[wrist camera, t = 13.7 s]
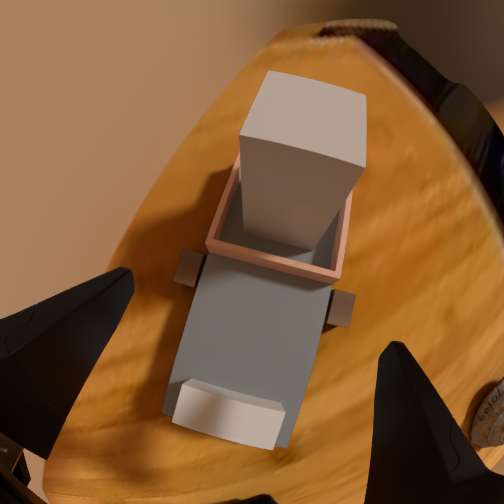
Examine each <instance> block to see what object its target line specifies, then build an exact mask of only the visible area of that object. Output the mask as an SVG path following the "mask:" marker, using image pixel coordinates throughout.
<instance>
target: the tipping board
mask: <svg viewBox="0 0 504 504" xmlns="http://www.w3.org/2000/svg"><path fill="white" fill-rule="evenodd" d="M352 192H353V189H352V191H351V192H350V194H349V195H348V197H347V199H346V200H345V202H344V203H343V205H342V206H341V208H340V210H339V211H338V213H337V214H336V216H335V217H334V219H333V221H332V222H331V224H330V225H329V227H328V228H327V230H326V231H325V233H324V234H323V236H322V237H321V239H320V240H319V242H318V243H317V245H316V246H315V248H314V249H313V251H310V250H307V249H303V248H299V247H296V246H292V245H288V244H284V243H280V242H277V241H273V240H269V239H265V238H261V237H258V236H254V235H250V234H246V233H244V228H243V207H242V186H241V164H240V151H239V154H238V156H237V159H236V161H235V164H234V166H233V169H232V171H231V174H230V177H229V179H228V182H227V184H226V187H225V190H224V192H223V195H222V197H221V200H220V203H219V205H218V208H217V211H216V214H215V216H214V219H213V222H212V225H211V227H210V230H209V233H208V236H207V239H206V241H205V244H206V247H207V249H208V251H209V253H208V256H207V259H206V262H205V265H204V268H203V271H202V274H201V277H200V280H199V283H198V286H197V290H196V293H195V296H194V299H193V302H192V305H191V309H190V312H189V315H188V318H187V322H186V325H185V328H184V331H183V335H182V338H181V342H180V345H179V348H178V352H177V355H176V359H175V362H174V366H173V369H172V373H171V377H170V380H169V384H168V387H167V391H166V395H165V399H164V402H163V406H162V410H161V413H162V414H164V415H167V416H169V417H172V418H173V420H172V423H175V424H178V425H181V426H183V427H186V428H189V429H192V430H195V431H198V432H201V433H204V434H208V435H211V436H214V437H218V438H221V439H225V440H229V441H233V442H237V443H241V444H245V445H249V446H254V447H259V448H264V449H269V450H273V448H274V446H278V447H284V448H287V446H288V443H289V440H290V437H291V434H292V432H293V429H294V426H295V423H296V420H297V417H298V414H299V411H300V408H301V404H302V401H303V398H304V395H305V391H306V388H307V385H308V381H309V378H310V374H311V371H312V367H313V363H314V360H315V356H316V352H317V348H318V344H319V340H320V336H321V332H322V328H323V324H324V319H325V315H326V311H327V306H328V301H329V297H330V292H331V287H332V284H334V283H335V282H336V281H338V280H339V279H340V276H341V271H342V265H343V259H344V253H345V247H346V240H347V233H348V226H349V218H350V210H351V201H352Z"/></svg>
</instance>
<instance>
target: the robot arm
mask: <svg viewBox="0 0 504 504" xmlns="http://www.w3.org/2000/svg"><path fill="white" fill-rule="evenodd" d="M133 293H134V281H133V273H132V271H131V270H130V269H127V268H124V267H119V268H116V269H114V270H112V271H109V272H107V273H105V274H102V275H100V276H98V277H95V278H93V279H91V280H89V281H86V282H84V283H81V284H79V285H77V286H75V287H72V288H70V289H68V290H66V291H63V292H61V293H59V294H57V295H55V296H52V297H50V298H48V299H46V300H44V301H42V302H39V303H37V305H36V304H35V305H33V306H31V307H29V308H26V309H24V310H22V311H20V312H18V313H15V314H13V315H10V316H8V317H5V318H2V319H0V504H47V503H46V502H45V501H43V500H42V499H41V498H40V497H38V496H37V495H36V494H35V493H33V492H32V491H31V490H30V489H28V488H27V486H28V484H29V482H30V480H31V478H30V474H29V471H28V468H27V464H26V461H25V457H24V453H23V450H24V448H25V449H27V450H29V451H31V452H32V453H34V454H36V455H38V456H39V457H41V458H43V459H45V460H47V459H48V457H49V455H50V453H51V451H52V448H53V446H54V444H55V442H56V439H57V437H58V435H59V433H60V431H61V429H62V427H63V425H64V423H65V421H66V418H67V416H68V414H69V412H70V410H71V408H72V406H73V404H74V402H75V400H76V399H77V397H78V395H79V393H80V391H81V389H82V387H83V385H84V384H85V382H86V380H87V378H88V376H89V374H90V373H91V371H92V369H93V367H94V366H95V364H96V362H97V360H98V359H99V357H100V355H101V353H102V352H103V350H104V348H105V347H106V345H107V343H108V342H109V340H110V338H111V337H112V335H113V333H114V332H115V330H116V328H117V326H118V324H119V322H120V320H121V318H122V316H123V314H124V312H125V310H126V308H127V306H128V304H129V302H130V300H131V298H132V296H133ZM265 499H266V500H265ZM236 504H278V503H277V502H276V501H275V500H274V499H273V498H272V497H271V496H270V495H266V494H265V495H262V496H259V497H256V498H253V499H250V500H247V501H243V502H240V503H236ZM364 504H504V476H503V475H500V474H497V473H494V472H492V471H491V470H489V469H488V468H487V467H486V466H485V465H484V463H483V462H482V460H481V459H480V457H479V456H478V454H477V453H476V451H475V450H474V449H473V447H472V446H471V444H470V443H469V441H468V440H467V438H466V437H465V435H464V434H463V432H462V430H461V429H460V427H459V426H458V424H457V422H456V421H455V419H454V418H453V417H452V414H451V413H450V411H449V409H448V408H447V406H446V405H445V403H444V402H443V400H442V398H441V397H440V395H439V394H438V392H437V391H436V389H435V388H434V386H433V385H432V383H431V382H430V380H429V379H428V377H427V376H426V374H425V373H424V371H423V370H422V368H421V367H420V366H419V364H418V363H417V361H416V360H415V358H414V357H413V356H412V354H411V353H410V351H409V350H408V349H407V347H406V346H405V344H404V343H403V342H399V341H392V342H390V343H389V345H388V346H387V347H386V348H385V350H384V351H383V352H382V353H381V355H380V357H379V361H378V371H377V381H376V389H375V399H374V421H373V437H372V449H371V459H370V468H369V476H368V483H367V489H366V495H365V501H364Z"/></svg>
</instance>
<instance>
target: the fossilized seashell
mask: <svg viewBox="0 0 504 504" xmlns="http://www.w3.org/2000/svg"><path fill="white" fill-rule="evenodd" d="M470 436H471V440H470V442H471V443H473V444H475V445H477V446H479V447H480V448H486V447H491V446H495V447H497V446H499V445H503V444H504V377H503V378H502V379H501V380H500V381H499V382H498V383H497V385H496V386H495V387H494V388H493V389H492V390H491V391H490V392H489V393H488V395H487V396H486V398H485V399H484V401H483V402H482V404H481V406H480V407H479V409H478V411H477V413H476V415H475V418H474V421H473V424H472V427H471V431H470Z"/></svg>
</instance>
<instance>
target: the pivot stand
mask: <svg viewBox="0 0 504 504" xmlns="http://www.w3.org/2000/svg"><path fill="white" fill-rule="evenodd" d="M206 259H207V257H206V256H205V255H204V254H202V253H198V252H194V251H191V250H187V249H184V248H183V249H182V252H181V255H180V258H179V261H178V265H177V268H176V271H175V274H174V278H173V281H175V282H177V283H180V284H183V285H186V286H189V287H193V288H196V289H197V286H198V283H199V280H200V277H201V274H202V271H203V268H204V265H205V262H206ZM355 297H356V294H352V293H348V292H344V291H341V290H337V289H334V290H331V292H330V297H329V301H328V306H327V311H326V315H325V319H324V323H326V324H331V325H335V326H340V327H346V328H348V327H349V323H350V319H351V315H352V310H353V306H354V302H355Z"/></svg>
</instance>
